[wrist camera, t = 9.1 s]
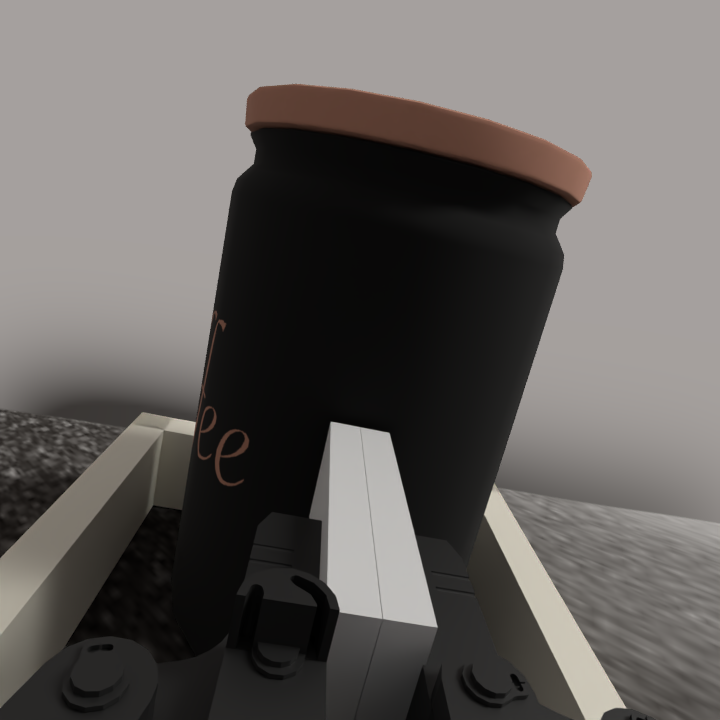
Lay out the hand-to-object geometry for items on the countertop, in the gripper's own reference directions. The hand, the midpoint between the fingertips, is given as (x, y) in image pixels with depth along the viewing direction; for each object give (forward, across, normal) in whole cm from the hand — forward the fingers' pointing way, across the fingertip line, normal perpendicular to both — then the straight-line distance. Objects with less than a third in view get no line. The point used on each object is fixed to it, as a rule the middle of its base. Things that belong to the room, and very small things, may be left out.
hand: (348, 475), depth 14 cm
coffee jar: (+6, 0, -9) cm, 11 cm away
